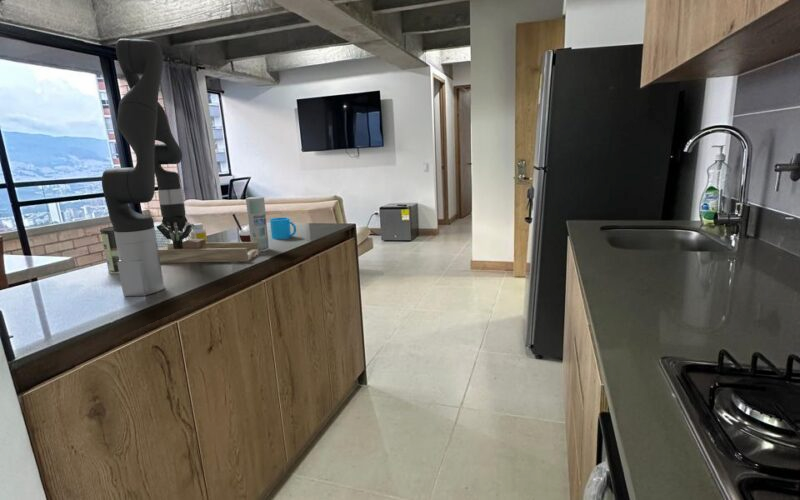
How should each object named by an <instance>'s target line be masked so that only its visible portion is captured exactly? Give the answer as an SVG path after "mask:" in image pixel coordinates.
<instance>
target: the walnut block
mask: <svg viewBox="0 0 800 500" xmlns="http://www.w3.org/2000/svg"><path fill="white" fill-rule="evenodd" d="M182 245H183V249H207V247H206V240H205V239H191V238H189V239H187V240H185V241H184V240H183V242H182Z"/></svg>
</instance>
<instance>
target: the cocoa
mask: <svg viewBox="0 0 800 500" xmlns="http://www.w3.org/2000/svg"><path fill="white" fill-rule="evenodd" d="M231 216H232V217H233V219H234V221H235V223H236V226H237V227H238V229H239V231H238V234H239V235H238V237H239V239H240V242H251V238H250V230H249V226H245V227H243V228H242V226H241V224H240V222H239V220H238V218H237V216H236V214H235V213H232V215H231Z"/></svg>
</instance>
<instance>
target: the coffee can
mask: <svg viewBox="0 0 800 500" xmlns="http://www.w3.org/2000/svg"><path fill="white" fill-rule="evenodd" d="M99 232H100V233H101V239H102V244H103V250H104V254H105V260H106V264H107V265H106V266H107V269H108V270H107V271H108V274H112V275H120V274H119V269H118V264H117V262H118V261H119V256H118V250H117V245H116V239H115V234H114V229H113V226H109V227H108V226H107V227H103V228H101V229H100V230H99Z"/></svg>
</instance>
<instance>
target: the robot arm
mask: <svg viewBox="0 0 800 500" xmlns="http://www.w3.org/2000/svg"><path fill="white" fill-rule="evenodd" d="M115 52H116V58H117V62H118V65H119V66H120V69H121V72H122V75H123V76H124V78H125V81H126V83H127V85H128V87H129V90H128V91H127V92H126V93H125V94H124V95H123V96H122V98H121V99H120V100H119V103H118V107H117V108H118V110H117V117H116V118H117V120H116V124H117V128H118V130H119V132H120V134H121V135H122V136H123V138H124V139H125V141H126V142H127V143H128V145H130V147H131V149H132V150H133V152H134V154H135V158H136V164H135V166H134V167H115V168H114V167H111V168H107V169H105V170H103V173H102V175H101V187H102V192H103V195H104V200H105V204H106V208H107V213H108V215H109V219H110V223H111V226H112V227H113V229H114V234H115V239H116V245H117V250H118V256H119V261H118V262H117V264H118V269H119V274H118V275H119V278H120V284H121V289H122V294H123V297H132V296H133V297H138V296H139V297H143V296H144V297H146V296H148V295H151V294H155V293H158V292H160V291H162V290H164V288H165V282H164V278H163V271H162V265H161V264H162V263H160V258H159V252H158V249H159V247H158V246H159V245H158V241H157V235H156V229H157V230H158V231H159V232H160V233H161V234H162V235H163V237H165V238H166V239H167V240H171V241H172V243H173V246H174V249H183V245H182V242H184V239H187V238H189V236H190V235H191V231H192V230H193V227H194V224H195V223H190V221H189V222H188V219H187V217H186V209H185V208H186V207H185V206H186V205H185V200H184V195H183V191H182V185H181V179H180V175H179V173H178V172H176V171H171V170H167V169H164V167H163V166H162V165H177V164H180V163H181V162H182V160H183V152H182V149H181V147H180V146H179V144H178V142H177V141H176V139H175V137H174V135H173V134H172V131H171V128H170V123H169V120H168V116H167V114H166V111H165V109H164V108H163V106H162V104H161V103H160V102H159V92H160V87H161V81H162V74H163V69H164V68H163V67H164V55H163V51H162V48H161V46H160V45H159V44H158V42H156V41H154V40H149V39H136V38H135V39H134V38H119V39H118V40H117V42H116V45H115ZM139 75H141V77H139ZM156 141H158V142H159V143H157V142H156ZM155 181H156V182H155ZM156 185H157V189H158V190H157V191H158V193H157V194H158V195H157V196H158V201H159V202H158V203H159V208H160V213H161V217H162V219H161V223H159V225H156V227H155V221H154V219H153V217H152V216H150V215H147V214H143V213H140V212H137V211H135V210H133V209H132V208H131V207H130V206H129V205H130V204H145V203H150V202H151V201H152V200H153V198H154V195H155V191H156ZM155 228H156V229H155ZM184 228H185V229H184Z"/></svg>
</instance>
